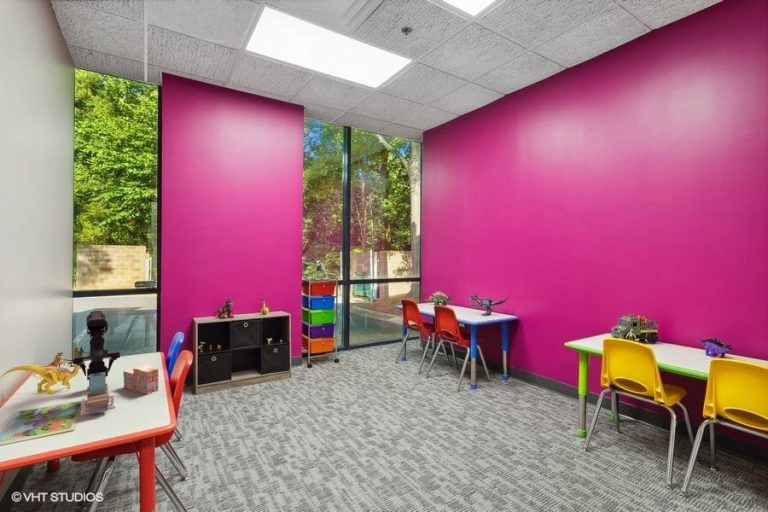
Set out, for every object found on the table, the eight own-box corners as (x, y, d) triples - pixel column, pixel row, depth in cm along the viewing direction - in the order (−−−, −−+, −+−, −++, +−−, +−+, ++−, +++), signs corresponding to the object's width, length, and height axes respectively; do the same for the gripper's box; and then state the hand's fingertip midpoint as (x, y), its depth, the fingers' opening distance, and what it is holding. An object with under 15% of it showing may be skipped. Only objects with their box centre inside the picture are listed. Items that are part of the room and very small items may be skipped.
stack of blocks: (123, 387, 204) (123, 365, 203) (135, 384, 209) (135, 362, 209) (147, 394, 194) (146, 371, 194) (158, 390, 200) (158, 368, 199)
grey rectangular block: (89, 392, 178) (89, 374, 178) (105, 389, 182) (105, 371, 182) (89, 396, 174) (89, 377, 174) (105, 393, 178) (105, 374, 178)
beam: (86, 397, 186) (86, 387, 185) (108, 393, 191) (108, 383, 191) (85, 414, 166) (85, 403, 166) (110, 409, 172) (110, 398, 172)
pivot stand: (80, 411, 174) (80, 399, 173) (114, 404, 182) (114, 392, 182) (80, 415, 170) (80, 402, 170) (115, 407, 178) (115, 395, 178)
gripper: (72, 349, 175) (72, 382, 175) (120, 343, 187) (120, 374, 187) (73, 345, 184) (73, 376, 184) (119, 339, 195) (119, 368, 196)
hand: (97, 374), depth 187 cm, fingers open, 9 cm apart
